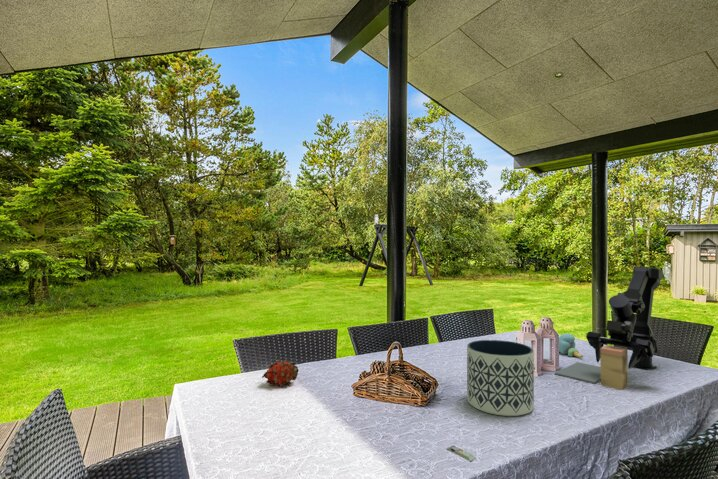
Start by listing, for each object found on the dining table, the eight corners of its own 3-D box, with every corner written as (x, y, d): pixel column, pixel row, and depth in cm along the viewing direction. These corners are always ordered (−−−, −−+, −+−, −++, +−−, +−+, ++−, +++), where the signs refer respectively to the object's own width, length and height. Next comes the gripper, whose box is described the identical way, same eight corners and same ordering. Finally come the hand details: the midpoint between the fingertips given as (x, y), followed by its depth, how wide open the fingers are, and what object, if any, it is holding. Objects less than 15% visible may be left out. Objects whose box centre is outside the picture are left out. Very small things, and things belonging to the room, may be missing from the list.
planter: (501, 422, 103) (501, 359, 104) (454, 399, 120) (453, 343, 120) (548, 409, 112) (548, 350, 112) (498, 389, 128) (498, 337, 128)
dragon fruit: (301, 388, 133) (265, 397, 129) (295, 367, 140) (260, 376, 136) (302, 372, 128) (264, 382, 124) (295, 351, 135) (259, 360, 131)
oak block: (607, 380, 136) (606, 345, 136) (627, 385, 131) (627, 348, 131) (600, 384, 132) (600, 348, 132) (621, 389, 127) (621, 351, 128)
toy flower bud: (576, 340, 160) (553, 331, 171) (575, 362, 160) (552, 352, 171) (590, 338, 162) (567, 330, 173) (589, 360, 162) (566, 350, 174)
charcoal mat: (577, 363, 155) (577, 362, 155) (615, 371, 145) (615, 370, 145) (554, 374, 142) (554, 372, 142) (594, 384, 132) (594, 382, 133)
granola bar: (477, 460, 86) (477, 455, 86) (470, 463, 85) (470, 458, 85) (451, 448, 91) (452, 443, 92) (445, 450, 90) (445, 446, 90)
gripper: (587, 308, 142) (575, 344, 134) (651, 315, 128) (641, 356, 120) (596, 327, 147) (584, 363, 139) (658, 336, 133) (649, 377, 125)
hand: (612, 364), depth 131 cm, fingers open, 9 cm apart
